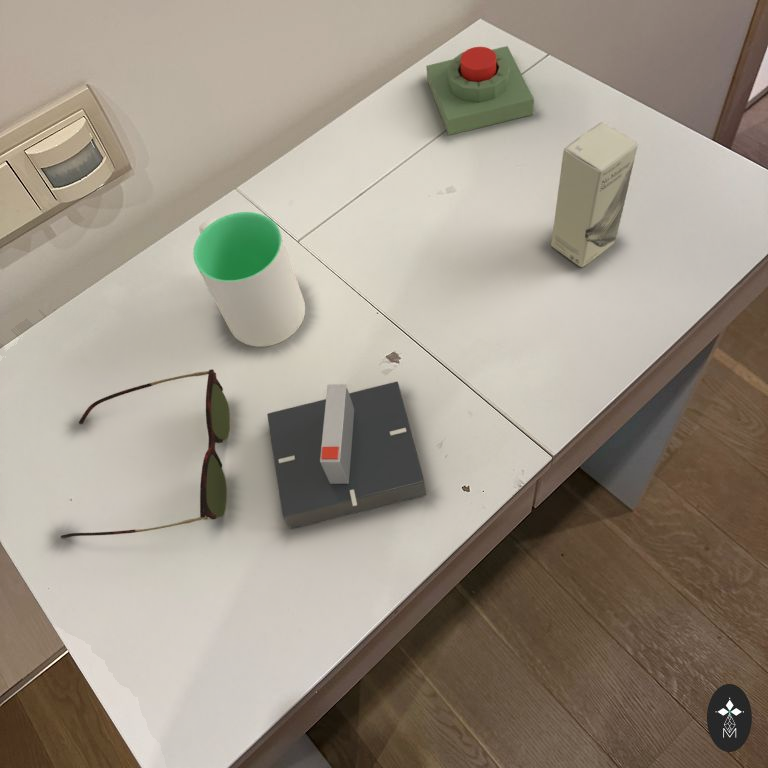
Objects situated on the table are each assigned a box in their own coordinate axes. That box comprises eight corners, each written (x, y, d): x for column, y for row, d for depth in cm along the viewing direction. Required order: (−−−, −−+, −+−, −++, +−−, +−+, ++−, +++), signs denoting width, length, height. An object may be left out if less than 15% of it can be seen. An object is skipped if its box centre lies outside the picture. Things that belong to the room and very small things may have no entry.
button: (490, 56, 86) (490, 43, 85) (500, 78, 84) (500, 64, 83) (456, 64, 86) (456, 51, 85) (466, 86, 84) (465, 73, 83)
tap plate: (399, 391, 69) (396, 374, 67) (428, 501, 64) (426, 487, 61) (274, 422, 69) (265, 406, 67) (292, 535, 64) (283, 523, 61)
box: (581, 270, 74) (598, 174, 63) (549, 246, 76) (560, 148, 65) (618, 241, 75) (641, 142, 64) (585, 218, 77) (602, 118, 66)
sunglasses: (225, 536, 64) (202, 516, 60) (66, 558, 66) (33, 540, 62) (231, 392, 72) (211, 365, 67) (88, 415, 74) (59, 391, 69)
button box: (507, 61, 91) (507, 32, 88) (532, 114, 86) (534, 85, 82) (427, 81, 91) (425, 52, 87) (448, 135, 86) (446, 106, 82)
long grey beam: (336, 409, 66) (326, 382, 62) (354, 409, 66) (345, 382, 61) (329, 484, 62) (319, 460, 58) (348, 483, 62) (339, 460, 58)
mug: (191, 293, 78) (153, 225, 69) (251, 249, 80) (222, 178, 72) (258, 360, 73) (227, 296, 64) (321, 311, 75) (299, 243, 66)
